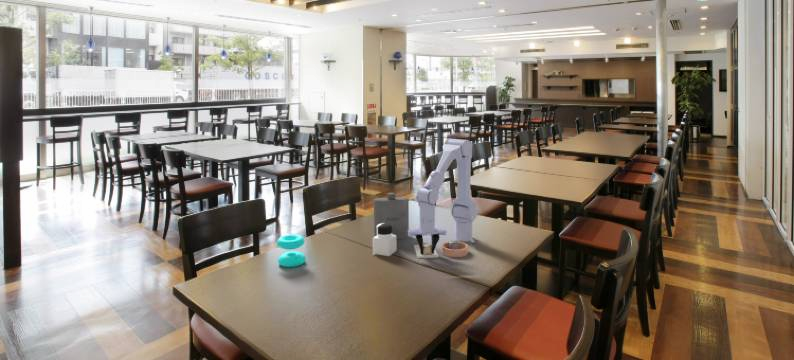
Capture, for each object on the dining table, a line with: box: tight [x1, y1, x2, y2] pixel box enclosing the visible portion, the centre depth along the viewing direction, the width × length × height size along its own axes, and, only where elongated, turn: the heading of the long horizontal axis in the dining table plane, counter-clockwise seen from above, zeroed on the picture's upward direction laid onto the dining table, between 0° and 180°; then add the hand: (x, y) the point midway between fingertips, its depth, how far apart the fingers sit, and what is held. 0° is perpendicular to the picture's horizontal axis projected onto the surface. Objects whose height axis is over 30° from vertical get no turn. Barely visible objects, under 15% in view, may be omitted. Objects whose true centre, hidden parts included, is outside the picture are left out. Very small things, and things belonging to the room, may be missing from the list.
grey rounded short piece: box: [448, 240, 459, 250], centre depth 181 cm, size 4×4×4 cm
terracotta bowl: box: [440, 241, 469, 258], centre depth 179 cm, size 10×10×4 cm
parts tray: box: [413, 244, 440, 259], centre depth 180 cm, size 12×8×2 cm, turn 5°
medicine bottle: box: [372, 223, 397, 257], centre depth 180 cm, size 7×7×12 cm
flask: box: [373, 192, 410, 240], centre depth 197 cm, size 15×6×20 cm, turn 99°
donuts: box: [276, 233, 307, 268], centre depth 171 cm, size 10×10×10 cm
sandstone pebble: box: [422, 243, 432, 255], centre depth 177 cm, size 4×4×4 cm
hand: (427, 253), depth 177 cm, fingers closed on sandstone pebble, 4 cm apart
